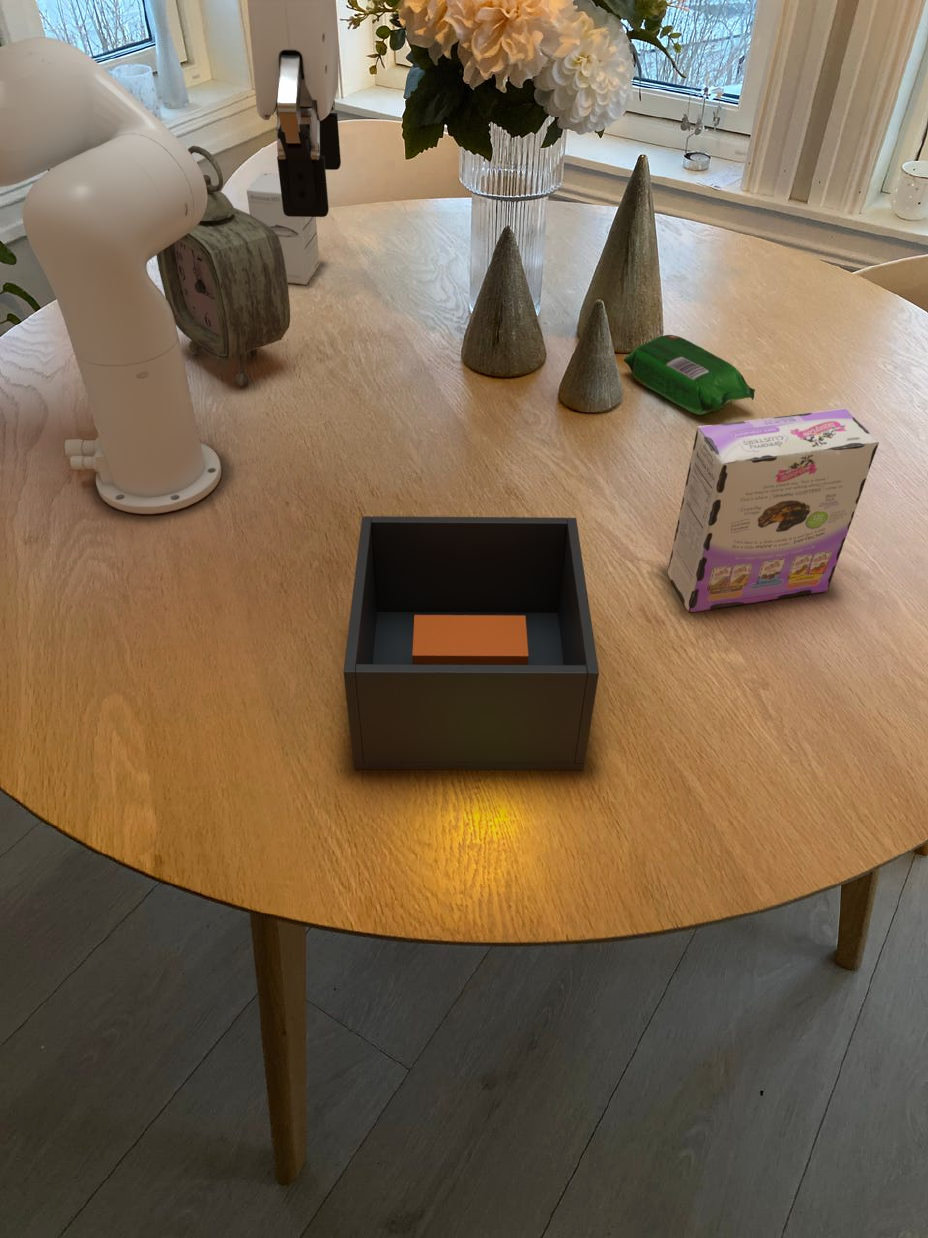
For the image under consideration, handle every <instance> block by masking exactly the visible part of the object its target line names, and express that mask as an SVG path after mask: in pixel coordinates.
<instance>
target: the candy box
mask: <svg viewBox="0 0 928 1238" xmlns="http://www.w3.org/2000/svg"><path fill="white" fill-rule="evenodd" d="M879 444H880V441H879V440H878V439H877V438H875V437H874V436H873V435H872V434H871V432H870V431H869V430H867V428H866V427H865V426H864V425H863V424H861V423H860V422H859V421H858V420H857V419H856V418H855V417H854V416H853V415H852V414H851V412H849V410H848V409H846V408H845V407H842V408H835V409H828V410H820V411H813V412H806V413H805V412H804V413H799V414H791V415H783V416H782V415H781V416H773V417H766V418H758V419H750V420H749V419H748V420H743V421H735V422H733V421H732V422H726V423H717V424H708V425H698V426H697V427H696V433H695V437H694V441H693V447H692V452H691V455H690V456H691V457H690V461H689V465H688V471H687V474H686V475H687V476H686V480H685V486H684V490H683V495H682V499H681V504H680V509H679V515H678V520H677V524H676V528H675V533H674V539H673V543H672V548H671V553H670V557H669V563H668V566H667V567H668V568H667V573H666V574H667V575H668V579H669V580H670V582H671V584H672V585H673V587H674V588H675V591H676V592H677V594H678V596H679V598H680V600H681V602H682V604H683V606H684V607H685V609H686V611H687V612H691V613H695V612H703V611H709V610H715V609H720V608H728V607H735V606H740V605H745V604H754V603H761V602H766V601H770V600H771V601H772V600H779V599H784V598H790V597H797V596H802V595H803V596H805V595H810V594H816V593H823V592H827V591H828V590H829V588H830V585H831V582H832V579H833V576H834V573H835V570H836V567H837V565H838V563H839V558H840V556H841V554H842V550H843V547H844V543H845V541H846V538H847V536H848V533H849V531H850V527H851V524H852V523H853V522H852V521H853V519H854V516H855V513H856V510H857V508H858V504H859V501H860V498H861V496H862V493H863V490H864V487H865V483H866V481H867V478H868V475H869V472H870V469H871V466H872V464H873V461H874V458H875V456H876V453H877V450H878V447H879Z"/></svg>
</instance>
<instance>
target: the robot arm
mask: <svg viewBox="0 0 928 1238" xmlns="http://www.w3.org/2000/svg"><path fill="white" fill-rule="evenodd" d="M247 12H248V13H247V14H248V24H249V37H250V46H251V47H250V48H251V58H252V69H253V82H254V91H255V92H254V93H255V104H256V111H257V114H258V116H259V117H260V118H261V119H262V120H263V121H269V120H270V119H271V117H272V116H274V115H275V112H276V138H277V139H276V150H277V151H276V153H277V157H276V160H277V169H278V174H279V179H280V187H281V196H282V205H283V212H284V214H285V215H286V216H289V217H316V218H325V217H327V216H328V214H329V211H330V209H329V208H330V207H329V198H328V197H329V195H328V185H327V184H328V183H327V173H326V171H336V170H339V169H340V167H341V163H342V162H341V161H342V159H341V147H340V145H341V144H340V136H339V135H340V131H339V119H338V112H335V111H336V104H335V99H336V95H337V93H338V88H339V79H340V77H339V71H340V70H339V68H340V67H339V64H340V63H339V32H338V31H339V30H338V12H337V0H247ZM188 149H189V148H187V147H186V145H184V143H183V142H182V141H181V140H180V139H179V138H178V137H177V136H176V135H175V134H174V133H173V132H172V131H171V130H170V129H169V128H168V127H167V126H166V125H165V124H163V122H162V121H160V120H159V119H158V118H157V117H156V116H155V115H154V114H153V113H152V112H151V111H150V110H149V109H148V108H147V107H146V106H144V104H143V103H141V102H140V101H139V100H138V99H137V97H135V96H134V95H133V94H132V93H131V92H129V90H128V89H127V88H125V86H123V85H122V84H121V83H120V82H119V81H118V80H117V79H116V78H115V77H114V76H112V75H111V73H109V72H108V71H107V70H106V69H105V68H104V67H103V66H102V65H101V64H99V63H98V62H97V61H96V60H95V59H93V58H92V57H91V56H90V55H89V54H87V53H86V52H84V51H83V50H81V49H79V48H78V47H76V46H74V45H72V44H70V43H68V42H66V41H63V40H60V39H58V38H53V37H49V36H36V37H29V38H24V39H21V40H17V41H14V42H11V43H7V44H5V45H2V46H1V45H0V187H1V188H2V187H9V186H10V187H11V186H13V185H17V184H20V183H22V182H24V181H27V180H30V179H31V178H34V177H36V176H38V175H40V174H42V173H44V174H42V175H41V176H39V178H37V180H36V181H35V182H34V183H33V184H32V185H31V187H30V189H29V190H28V191H27V194H26V196H25V199H24V203H23V207H22V224H23V228H24V232H25V235H26V237H27V241H28V244H29V245H30V248H31V250H32V252H33V254H34V256H35V257H36V260H37V262H38V263H39V265H40V268H41V269H42V271H43V273H44V275H45V277H46V279H47V280H48V281H47V282H48V283H49V285H50V287H51V289H52V292H53V294H54V296H55V299H56V301H57V304H58V306H59V310H60V312H61V316H62V318H63V322H64V325H65V327H66V331H67V335H68V337H69V341H70V345H71V347H72V350H73V353H74V356H75V361H76V364H77V367H78V370H79V374H80V377H81V381H82V385H83V388H84V391H85V394H86V398H87V401H88V404H89V408H90V412H91V415H92V418H93V422H94V425H95V429H96V433H97V437H96V438H95V440H93V439H91V440H90V439H89V440H88V439H87V440H86V439H66V440H65V441H64V454H65V456H66V458H68V459H69V463H70V464H69V465H70V468H71V469H72V470H94V471H95V472H96V475H95V485H96V489H97V491H98V495H99V496H100V497H101V499H102V500H103V501H104V502H105V503H106V504H108V505H109V506H110V507H113V508H115V509H117V510H119V511H123V512H127V513H132V514H140V515H155V514H164V513H169V512H173V511H178V510H181V509H184V508H187V507H189V506H191V505H194V504H196V503H198V502H199V501H201V500H202V499H204V498H206V497H207V496H208V495H209V494H211V492H213V490H214V489H215V488H216V487H217V485H218V484H219V482H220V479H221V477H222V466H221V465H222V464H221V460H220V458H219V456H218V454H217V453H216V452H215V450H214V449H213V448H211V447H210V446H208V445H207V444H205V443H202V442H201V437H200V434H199V429H198V424H197V419H196V414H195V410H194V405H193V399H192V395H191V390H190V385H189V381H188V376H187V372H186V371H187V370H186V366H185V361H184V357H183V352H182V347H181V342H180V337H179V333H178V329H177V328H178V327H177V325H176V323H175V319H174V315H173V312H172V310H171V307H170V305H169V303H168V301H167V299H166V297H165V294H164V292H162V291H161V289H160V288H159V287H158V285H156V283H155V282H154V281H153V280H152V278H151V277H150V275H149V272H148V269H147V265H148V263H149V261H151V259H153V258H155V257H157V256H156V255H157V254H158V253H159V252H161V251H162V250H164V249H165V248H167V247H168V246H170V245H171V244H173V243H175V242H176V241H178V240H179V239H180V238H182V237H183V236H185V235H186V234H188V233H189V232H190V231H192V230H193V229H194V228H195V227H196V226H197V225H198V224H199V222H200V221H201V219H202V218H203V216H204V213H205V210H206V207H207V188H206V183H205V180H204V177H203V175H204V174H203V172H202V170H201V168H200V166H199V164H198V162H197V160H196V159H195V158H194V156H193V154H192V155H191V153H190V152H189V151H188Z"/></svg>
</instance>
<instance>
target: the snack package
mask: <svg viewBox="0 0 928 1238" xmlns="http://www.w3.org/2000/svg"><path fill="white" fill-rule="evenodd" d="M622 361H623V362H624V363H625V364H626V365H627V366H628V367H629V370H630V371H631V373H632V375H633V377H634V379H636V381H638V382H639V383H640V384H641V385H642V386H644V387H646V388H648V389H649V390H651V391H653V392H655V393H657V394H658V395H660V396H662V397H663V398H665V399H667V400H669V401H670V402H672V403H674V404H676V405H677V406H679V407H681V408H683V409H684V410H687V411H688V412H690V413H692V414H695V415H698V416H703V415H705V414H708V413H710V412H716V411H719V410H720V409H722V408H723V407H724V406H725V405H726V404H728V403H732V402H735V401H738V400H744V399H748V398H749V399H751V400H752V401H754V399H755V393H756V389H755V388H752V387H751V386H750V385H749V384H748V383H747V382H746V380H745V377H744V376H743V375H742V373H741V372H740V371H739V370H738V369H737V368H736V367H735V366H734V365H733V364H732V363H729V362H728V361H726V360H724V359H723V358H721V357H719V356H717V355H715V354H714V353H712V352H710V351H708V350H706V349H704V348H703V347H701V346H699V345H697V344H695V343H693V342H692V341H689V340H687V339H685V338H683V337H681V336H678V335H674V334H665V335H661V336H657V337H655V338H653V339H651V340H650V341H648V342H645V343H642V344H641V345H639V346H637V347H635V348H634V349H633V350H632V351H631V352H630V353H629V354H628V355H627V356H626V357H625V358H623V360H622Z"/></svg>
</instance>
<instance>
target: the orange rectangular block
mask: <svg viewBox="0 0 928 1238" xmlns="http://www.w3.org/2000/svg"><path fill="white" fill-rule="evenodd" d="M528 657H529V655H528V642H527V628H526V616H513V615H414V630H413V651H412V662H413V665H528Z"/></svg>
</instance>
